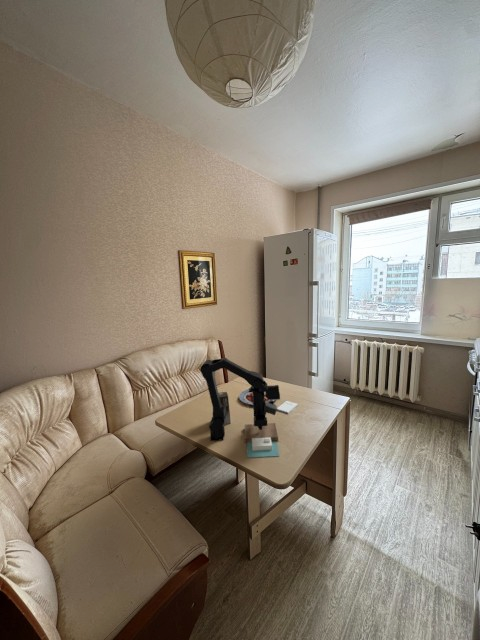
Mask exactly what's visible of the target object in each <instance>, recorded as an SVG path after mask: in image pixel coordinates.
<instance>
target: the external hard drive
mask: <svg viewBox="0 0 480 640" xmlns="http://www.w3.org/2000/svg"><path fill="white" fill-rule="evenodd" d="M298 406H299V403H295V402H293V401H289V400H286V401H284V402H283V403H282V404H281V405H279V406H278V407H277V411H276V412H281V413H284V414H288V415H289V414H291V412H293V410H294V409H296V408H297V407H298Z"/></svg>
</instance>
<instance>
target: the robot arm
mask: <svg viewBox="0 0 480 640" xmlns="http://www.w3.org/2000/svg"><path fill="white" fill-rule="evenodd" d="M199 369H200V372H201V375H202V377H203V379H204V380H205V381H206V385H207V389H208V393H209V398H210V400H211V401H210V402H211V405H212V417H211V419H210V423H209V426H208V427H209V431H210V442H211V441H224V439H225V435H226V432H225V426H224V425H225V424H224V422H225V419H226V415H227V411H226V406H222V404H221V402H220V398H219V394H218V393H219V390H218V386H217V385H218V384H217V381H216V378H215V377H216V376H215V375H216V373H215V372H217V371H220V370H222V369H225V370H227V371H228V372H231V373H233V374H234V375H236V376H238V377H240V378H241V379H244V380H245V381H246V382H247V383H248V384H249V385H250V386H249V388H248V389H249V392H253V405H252V409H253V424H254V426H258V428H259V430H262V426H267V424H268V418H267V417H266V416H267V414H269V415H273V416H276V413H277V412H278V411H277V408H278V407H277V405H276V403H275V404H274V401H272V400H275V401H276V400H278V401H279V400H281V393H280V386H279V384H275V385H268V383H267V382H266V380H265V379H264V376H263V374H262V373H259V372H258V371H257V372H256V371H253V370H249V369H246V368H245V367H243V366H241V365H238V364H237V363H235V362H233V361H231V360H229V359H228V358H226V357H223V358H217V359H212V360H211V359H207V360H205V361H204V362H203V363H202V364H201V366H200V368H199ZM264 392H266V398H267V399H268V400H270V401H269V402H267V403H266V402H265V397H264Z"/></svg>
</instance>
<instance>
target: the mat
mask: <svg viewBox="0 0 480 640" xmlns="http://www.w3.org/2000/svg"><path fill="white" fill-rule="evenodd" d="M277 442H278V441H273V442H272V450H253V449H252V443H246V457H247V458H248V459H249V458H251V459H253V458H274V457H280V452H279V448H278V444H277Z"/></svg>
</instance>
